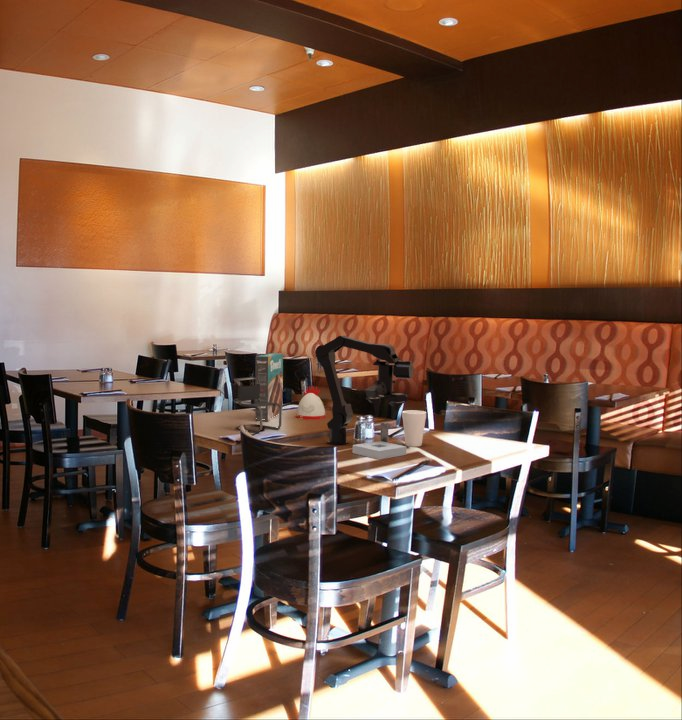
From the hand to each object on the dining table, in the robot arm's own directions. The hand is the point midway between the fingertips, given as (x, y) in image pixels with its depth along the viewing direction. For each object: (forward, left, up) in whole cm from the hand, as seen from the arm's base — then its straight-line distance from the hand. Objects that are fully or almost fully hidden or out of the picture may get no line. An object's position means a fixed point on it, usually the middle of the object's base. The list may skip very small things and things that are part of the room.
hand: (384, 418), depth 292 cm
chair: (-61, -17, -12) cm, 64 cm away
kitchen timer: (-76, +24, -12) cm, 81 cm away
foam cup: (+3, +13, -12) cm, 18 cm away
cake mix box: (-85, +6, -12) cm, 86 cm away
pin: (0, 0, -11) cm, 11 cm away
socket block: (+8, -10, -11) cm, 17 cm away
